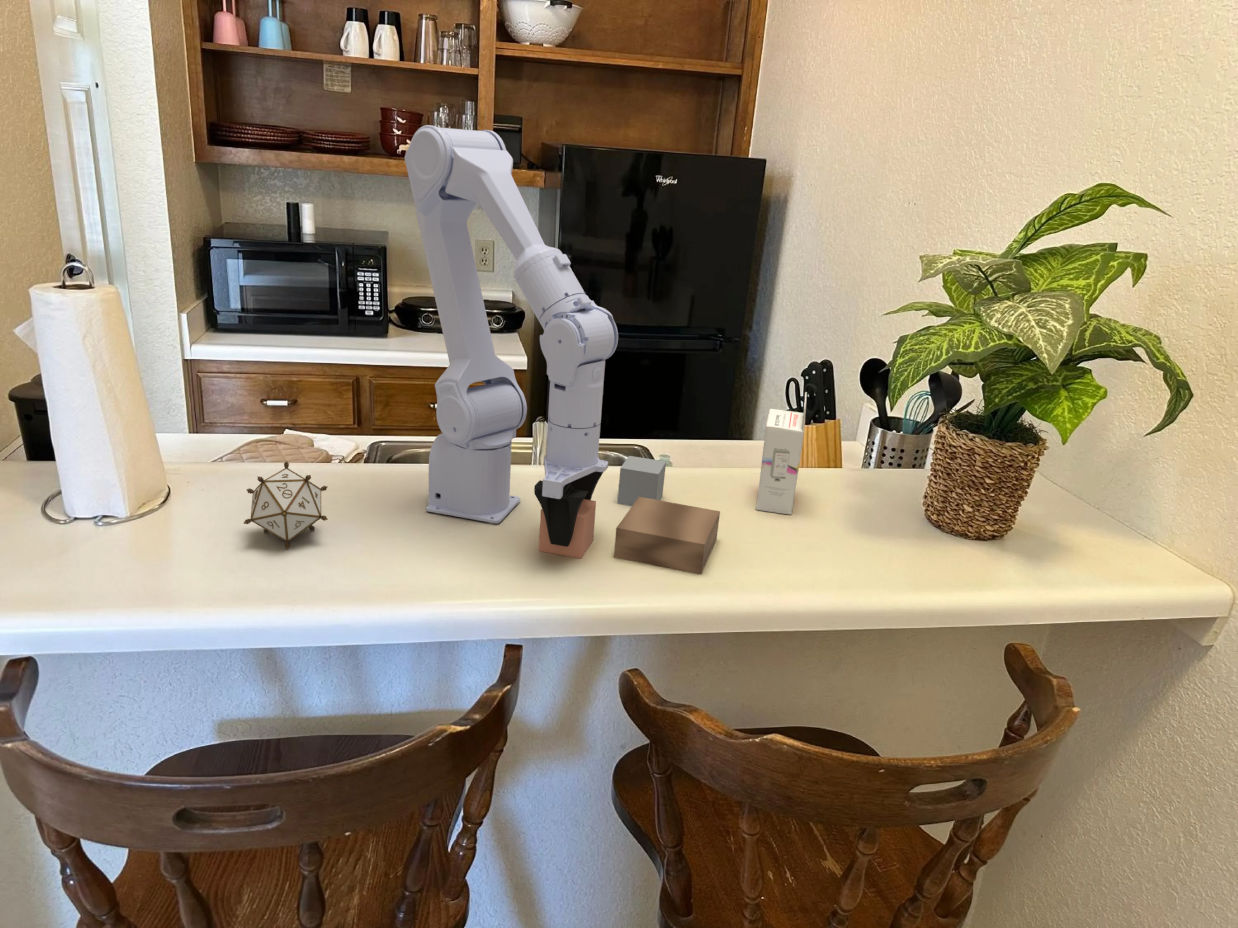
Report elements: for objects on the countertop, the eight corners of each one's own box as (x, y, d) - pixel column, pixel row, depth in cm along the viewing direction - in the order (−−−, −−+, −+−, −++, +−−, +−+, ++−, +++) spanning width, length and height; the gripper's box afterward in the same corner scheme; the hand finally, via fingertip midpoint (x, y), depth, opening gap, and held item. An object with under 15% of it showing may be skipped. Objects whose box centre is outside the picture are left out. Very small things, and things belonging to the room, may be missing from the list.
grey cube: (617, 504, 113) (620, 468, 111) (626, 490, 118) (629, 455, 116) (655, 510, 112) (658, 474, 110) (662, 496, 117) (666, 461, 115)
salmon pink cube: (538, 550, 98) (540, 510, 97) (552, 533, 103) (554, 494, 101) (581, 558, 97) (584, 517, 96) (593, 540, 102) (596, 501, 100)
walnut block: (613, 560, 98) (616, 527, 97) (636, 526, 108) (639, 496, 106) (700, 577, 96) (704, 544, 95) (716, 541, 105) (720, 511, 104)
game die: (309, 567, 98) (357, 511, 94) (237, 563, 92) (285, 502, 88) (288, 506, 103) (332, 450, 99) (218, 497, 96) (263, 437, 92)
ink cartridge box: (757, 487, 122) (772, 386, 117) (793, 492, 122) (809, 390, 116) (753, 510, 114) (769, 402, 109) (791, 516, 114) (809, 407, 109)
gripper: (592, 446, 88) (583, 567, 92) (625, 408, 101) (616, 516, 106) (525, 435, 89) (520, 555, 94) (566, 399, 102) (560, 506, 107)
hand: (567, 534), depth 100 cm, fingers closed on salmon pink cube, 5 cm apart
